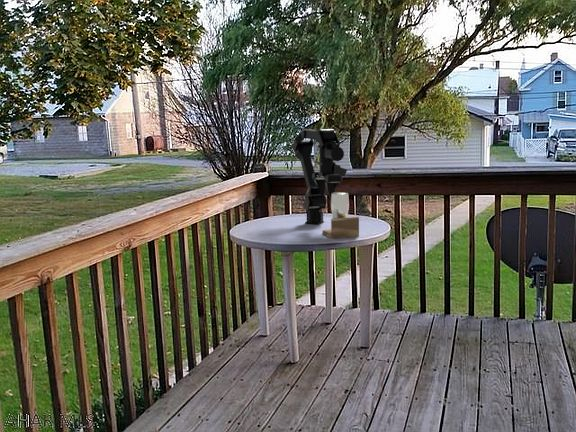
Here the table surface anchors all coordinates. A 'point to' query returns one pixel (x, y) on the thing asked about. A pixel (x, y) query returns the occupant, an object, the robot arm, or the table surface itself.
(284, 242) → the table surface
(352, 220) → the cleat board
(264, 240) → the table surface
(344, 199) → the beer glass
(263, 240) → the table surface
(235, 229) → the table surface
